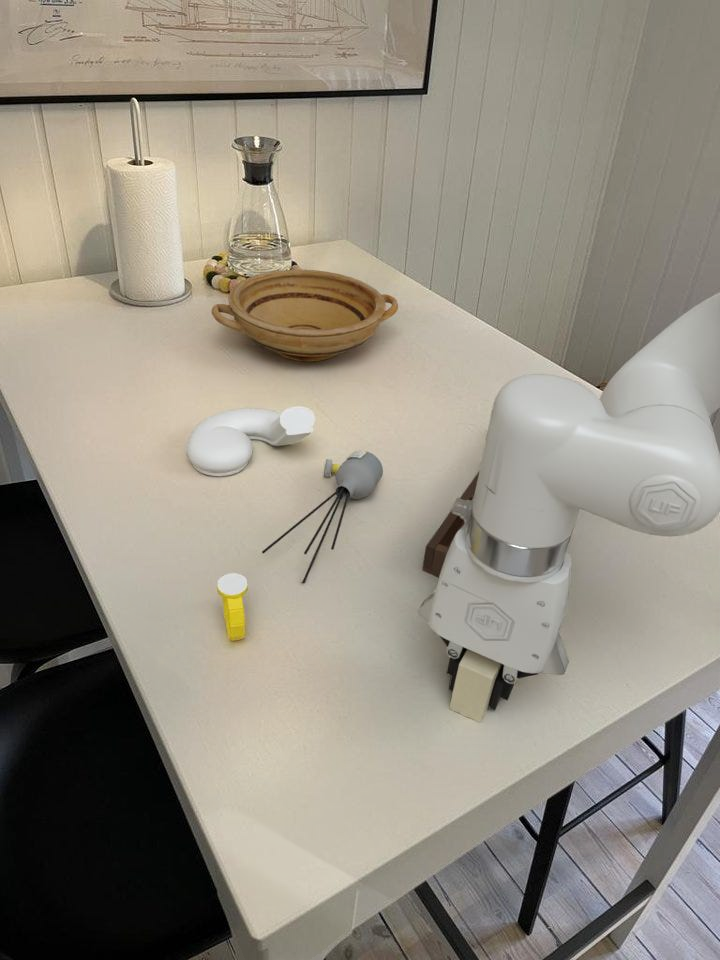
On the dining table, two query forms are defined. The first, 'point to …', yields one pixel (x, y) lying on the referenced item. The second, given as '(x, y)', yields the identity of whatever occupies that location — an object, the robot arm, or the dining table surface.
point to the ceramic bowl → (305, 312)
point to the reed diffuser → (345, 490)
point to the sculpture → (243, 436)
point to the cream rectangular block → (474, 685)
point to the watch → (233, 603)
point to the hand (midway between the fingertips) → (477, 687)
